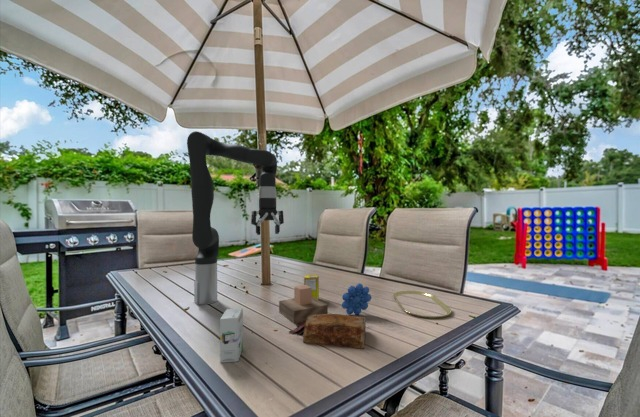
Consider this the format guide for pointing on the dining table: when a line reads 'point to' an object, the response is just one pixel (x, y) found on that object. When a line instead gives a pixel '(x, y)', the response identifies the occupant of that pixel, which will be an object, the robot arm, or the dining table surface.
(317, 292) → the supplement box
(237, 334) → the ink box
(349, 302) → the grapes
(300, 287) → the terracotta block
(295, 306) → the walnut block
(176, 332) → the dining table surface
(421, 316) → the yellow oval ring
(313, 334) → the cured meat
